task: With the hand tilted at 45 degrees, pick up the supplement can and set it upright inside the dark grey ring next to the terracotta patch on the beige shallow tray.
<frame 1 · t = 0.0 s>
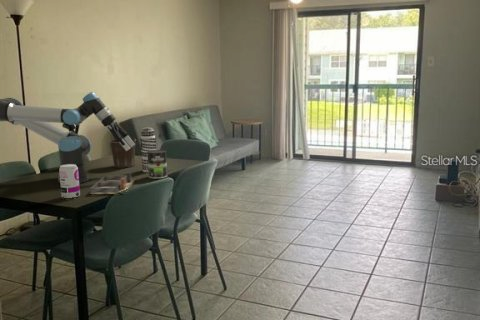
hand: (131, 147, 264), 15 cm above the table, tool tilted 35°, fingers open, 13 cm apart
plant pot: (124, 166, 292), on the table
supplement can: (71, 197, 221), on the table
decorative candle: (149, 170, 277), on the table
coffee can: (158, 177, 260), on the table
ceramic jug: (75, 167, 294), on the table
beige shallow tray: (113, 187, 237), on the table
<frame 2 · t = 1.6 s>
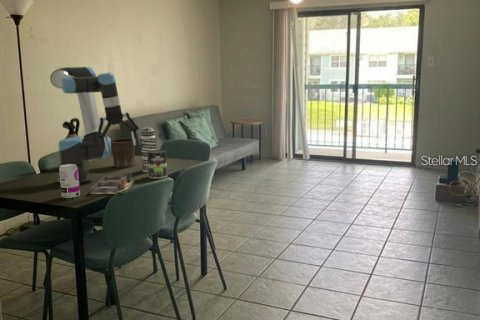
hand: (121, 147, 235), 20 cm above the table, tool pointing down, fingers open, 13 cm apart
nothing on the table moved.
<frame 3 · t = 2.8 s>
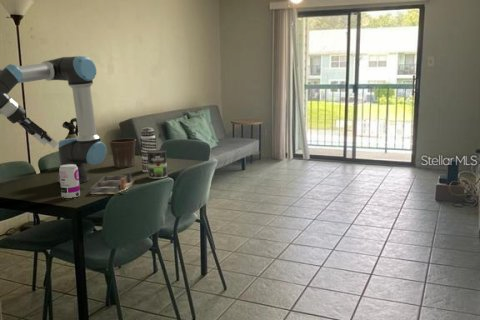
hand: (51, 144, 211), 26 cm above the table, tool tilted 40°, fingers open, 13 cm apart
nothing on the table moved.
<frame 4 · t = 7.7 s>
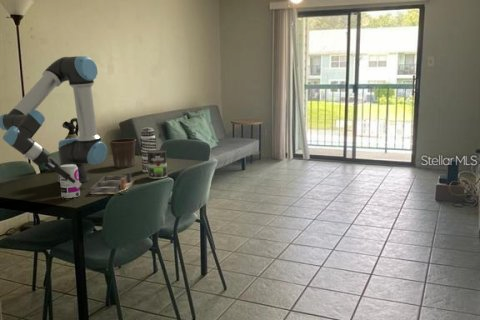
hand: (77, 184, 222), 6 cm above the table, tool tilted 45°, fingers closed on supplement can, 8 cm apart
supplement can: (71, 197, 221), on the table, touching gripper
everything else where it was.
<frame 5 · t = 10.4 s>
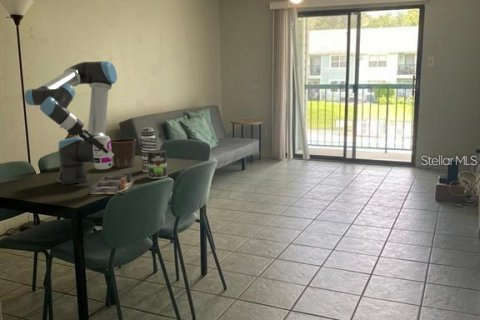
hand: (109, 155, 228), 18 cm above the table, tool tilted 45°, fingers closed on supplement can, 8 cm apart
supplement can: (103, 168, 227), point 12 cm above the table, touching gripper
everything else where it was.
when the fingers open (8 cm above the table, at t = 13.2 s): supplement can drops 1 cm, resting on beige shallow tray.
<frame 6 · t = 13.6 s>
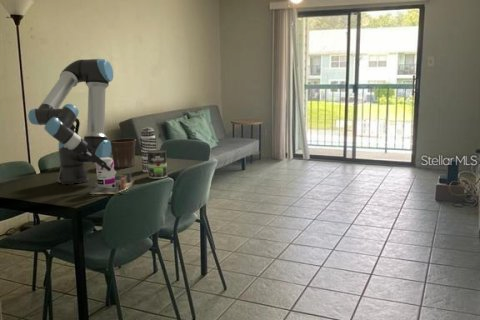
hand: (110, 171, 230), 9 cm above the table, tool tilted 45°, fingers open, 13 cm apart
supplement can: (107, 189, 230), point 1 cm above the table, touching beige shallow tray
everything else where it was.
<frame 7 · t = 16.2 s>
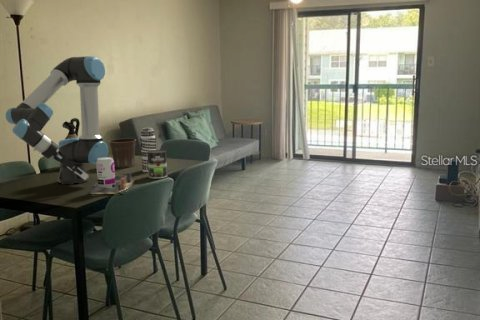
hand: (83, 175, 223), 9 cm above the table, tool tilted 45°, fingers open, 13 cm apart
nothing on the table moved.
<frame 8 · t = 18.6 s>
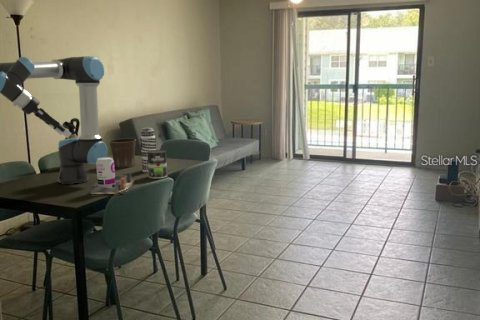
hand: (66, 134, 214), 30 cm above the table, tool tilted 45°, fingers open, 13 cm apart
nothing on the table moved.
at the end: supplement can 0.0 cm from the target spot, point 1.0 cm above the table; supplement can tilted 0°; the gripper is holding nothing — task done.
